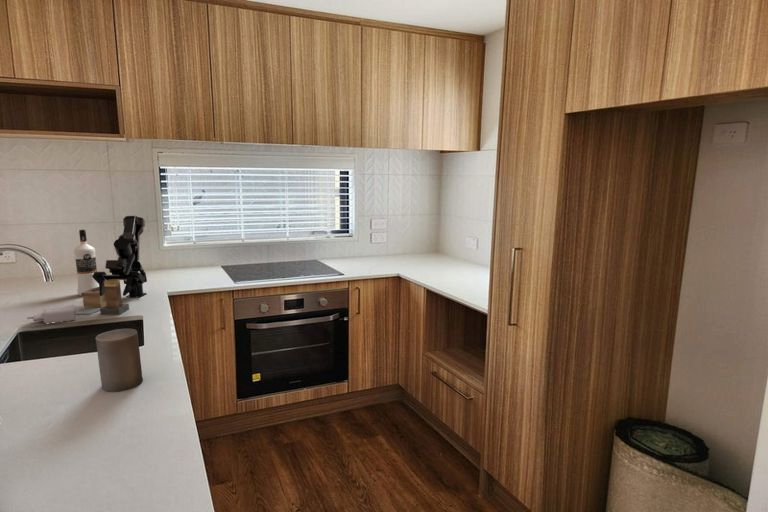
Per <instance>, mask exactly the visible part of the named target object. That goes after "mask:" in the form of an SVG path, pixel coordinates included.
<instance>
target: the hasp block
mask: <svg viewBox="0 0 768 512" xmlns="http://www.w3.org/2000/svg"><path fill="white" fill-rule="evenodd" d="M129 305H130V304H129V303H122V306H120V307H118V308H107V306H105V307H102V308H100V311H99V312H100V315H102V316H103V315H104V316H110V315H113V316H114V315H115V316H117V315H121V314H124V313H125V312H128V311H129V310H130V306H129Z"/></svg>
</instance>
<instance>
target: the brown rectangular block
mask: <svg viewBox="0 0 768 512" xmlns="http://www.w3.org/2000/svg"><path fill="white" fill-rule="evenodd" d="M104 286H105V296H106V305H107V308H118V307H120V306H122V304H123V300H122V299H123V298H122V289H121V280H120V279H110V280H107V281H104Z"/></svg>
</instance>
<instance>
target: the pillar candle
mask: <svg viewBox="0 0 768 512" xmlns="http://www.w3.org/2000/svg"><path fill="white" fill-rule="evenodd" d="M95 343H96V350H97V360H98V366H99V376H100V383H101V388H102V389H103V390H104V391H106V392H113V393H114V392H121V391H125V390H129V389H132V388H134V387H138V386H139V385H141V384H142V383H143V381H144V378H143V370H142V361H141V352H140V343H139V335H138V331H137V329H135V328H119V329H118V328H116V329H113V330H108V331H105V332H101V333H100V334H97V335H96V337H95Z"/></svg>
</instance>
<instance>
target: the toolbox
mask: <svg viewBox="0 0 768 512" xmlns="http://www.w3.org/2000/svg"><path fill="white" fill-rule="evenodd" d="M80 297H82V302H83V308H102V307H105V306H107V305H106V296H105V292H104V294H103V295H102V296H100V291H99V287H96V288H93V289H90V290H88V291H85V292H82V293H81V296H80Z"/></svg>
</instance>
